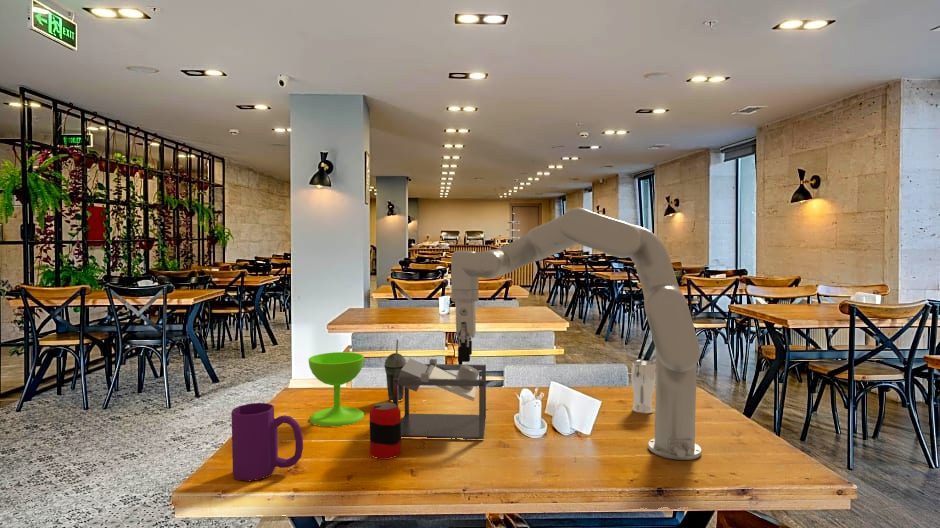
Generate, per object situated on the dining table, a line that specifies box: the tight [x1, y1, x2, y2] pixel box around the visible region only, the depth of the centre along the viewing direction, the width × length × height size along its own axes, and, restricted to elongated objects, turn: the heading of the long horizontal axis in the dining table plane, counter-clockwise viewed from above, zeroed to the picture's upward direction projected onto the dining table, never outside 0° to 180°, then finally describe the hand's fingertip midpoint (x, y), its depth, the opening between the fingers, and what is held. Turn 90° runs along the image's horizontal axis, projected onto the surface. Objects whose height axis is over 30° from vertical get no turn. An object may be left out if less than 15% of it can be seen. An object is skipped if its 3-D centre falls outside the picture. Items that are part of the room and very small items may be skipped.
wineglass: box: [308, 351, 365, 427], centre depth 165 cm, size 16×16×18 cm
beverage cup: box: [383, 339, 407, 401], centre depth 182 cm, size 7×7×20 cm
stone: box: [456, 364, 480, 390], centre depth 155 cm, size 6×6×5 cm
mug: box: [231, 402, 304, 482], centre depth 126 cm, size 9×16×15 cm, turn 94°
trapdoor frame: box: [392, 358, 487, 440], centre depth 156 cm, size 18×24×18 cm
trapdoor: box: [398, 357, 478, 402], centre depth 156 cm, size 15×21×5 cm
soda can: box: [369, 402, 402, 458], centre depth 138 cm, size 8×8×12 cm
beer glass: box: [630, 359, 656, 415], centre depth 171 cm, size 7×7×15 cm
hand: (465, 357), depth 155 cm, fingers open, 8 cm apart
